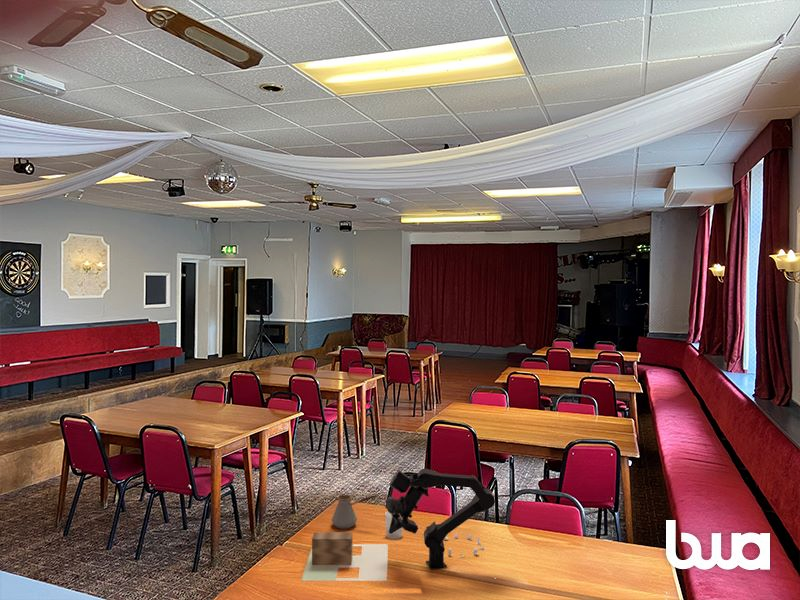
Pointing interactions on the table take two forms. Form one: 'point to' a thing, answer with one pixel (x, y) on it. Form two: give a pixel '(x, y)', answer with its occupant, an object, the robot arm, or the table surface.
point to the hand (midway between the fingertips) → (389, 532)
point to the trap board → (353, 566)
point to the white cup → (388, 519)
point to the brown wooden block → (332, 548)
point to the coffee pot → (346, 512)
